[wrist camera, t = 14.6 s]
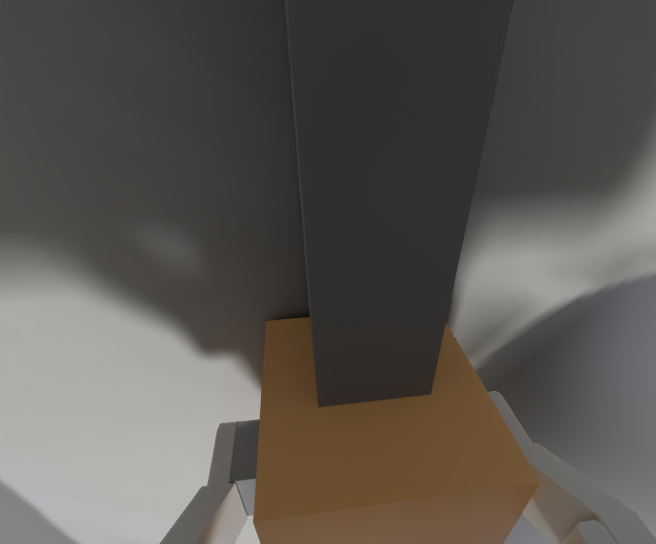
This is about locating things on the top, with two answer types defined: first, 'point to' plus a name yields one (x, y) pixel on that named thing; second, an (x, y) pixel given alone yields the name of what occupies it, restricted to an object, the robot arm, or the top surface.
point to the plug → (385, 287)
